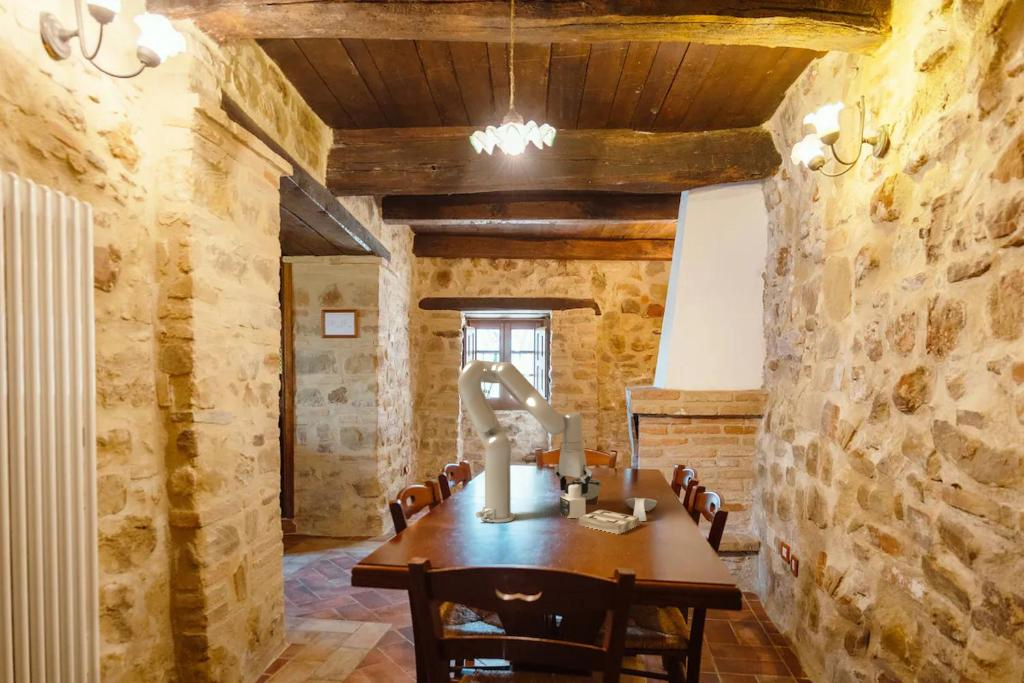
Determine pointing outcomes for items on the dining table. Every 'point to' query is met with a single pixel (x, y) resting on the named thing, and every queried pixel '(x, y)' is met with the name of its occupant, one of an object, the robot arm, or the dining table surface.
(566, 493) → the medicine bottle
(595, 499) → the food container
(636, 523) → the birch plinth
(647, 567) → the dining table surface
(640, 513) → the spoon rest
